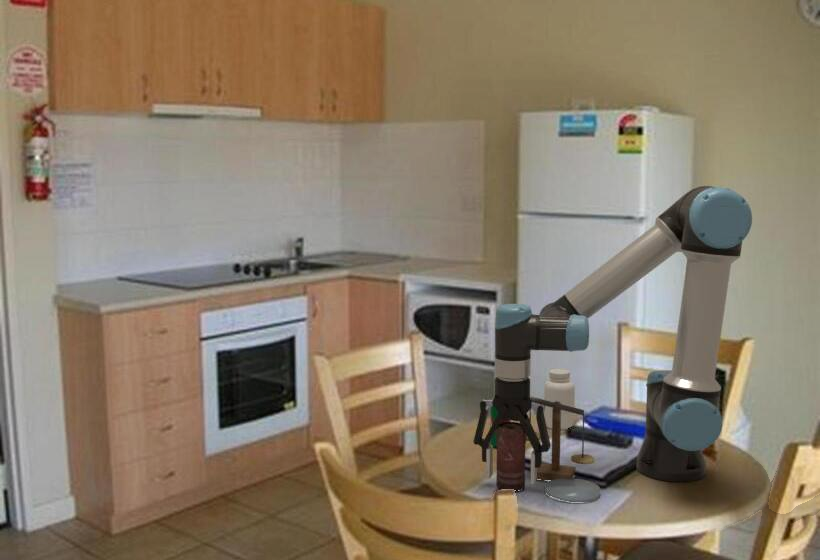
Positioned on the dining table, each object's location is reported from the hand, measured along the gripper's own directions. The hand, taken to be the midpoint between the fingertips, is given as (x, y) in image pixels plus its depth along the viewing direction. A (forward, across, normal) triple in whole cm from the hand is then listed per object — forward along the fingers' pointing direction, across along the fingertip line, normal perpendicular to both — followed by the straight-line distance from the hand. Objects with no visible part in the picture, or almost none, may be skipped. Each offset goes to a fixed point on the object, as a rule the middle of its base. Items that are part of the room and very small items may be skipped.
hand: (511, 478), depth 190 cm
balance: (+2, -8, -9) cm, 12 cm away
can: (+2, 0, 0) cm, 2 cm away
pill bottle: (+2, -2, -48) cm, 48 cm away
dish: (+2, -13, -1) cm, 13 cm away
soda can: (+2, +9, -27) cm, 29 cm away
